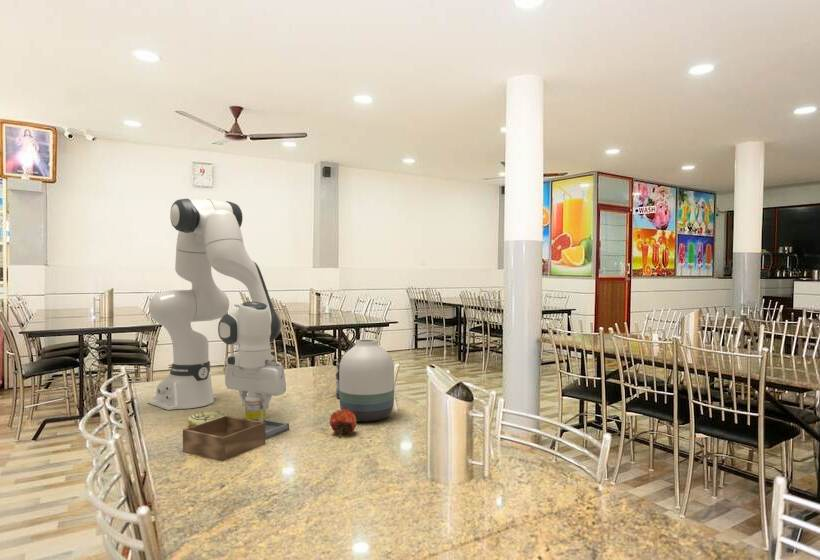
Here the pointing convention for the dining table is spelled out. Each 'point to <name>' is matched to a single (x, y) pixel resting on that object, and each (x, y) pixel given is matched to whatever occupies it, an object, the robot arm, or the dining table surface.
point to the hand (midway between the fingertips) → (255, 407)
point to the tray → (274, 428)
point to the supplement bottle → (254, 407)
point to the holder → (223, 437)
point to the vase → (367, 381)
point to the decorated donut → (204, 417)
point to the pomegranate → (343, 421)
